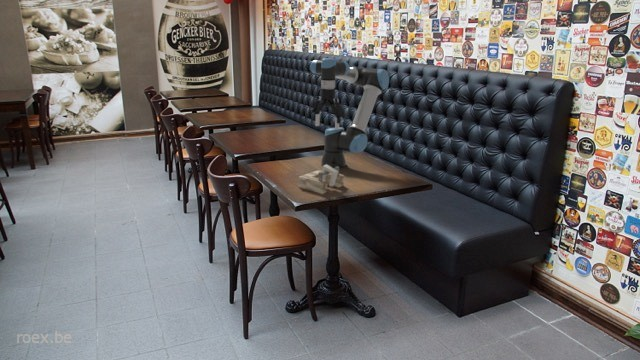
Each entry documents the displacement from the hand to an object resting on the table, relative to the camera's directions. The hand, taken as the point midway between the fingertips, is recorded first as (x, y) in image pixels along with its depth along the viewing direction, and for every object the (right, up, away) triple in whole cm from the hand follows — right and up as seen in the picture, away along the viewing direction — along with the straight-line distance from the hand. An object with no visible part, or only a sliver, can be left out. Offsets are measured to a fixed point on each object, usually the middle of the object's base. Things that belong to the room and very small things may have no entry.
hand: (327, 127), depth 260 cm
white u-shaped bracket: (0, -30, -10) cm, 31 cm away
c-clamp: (-3, -32, -7) cm, 33 cm away
